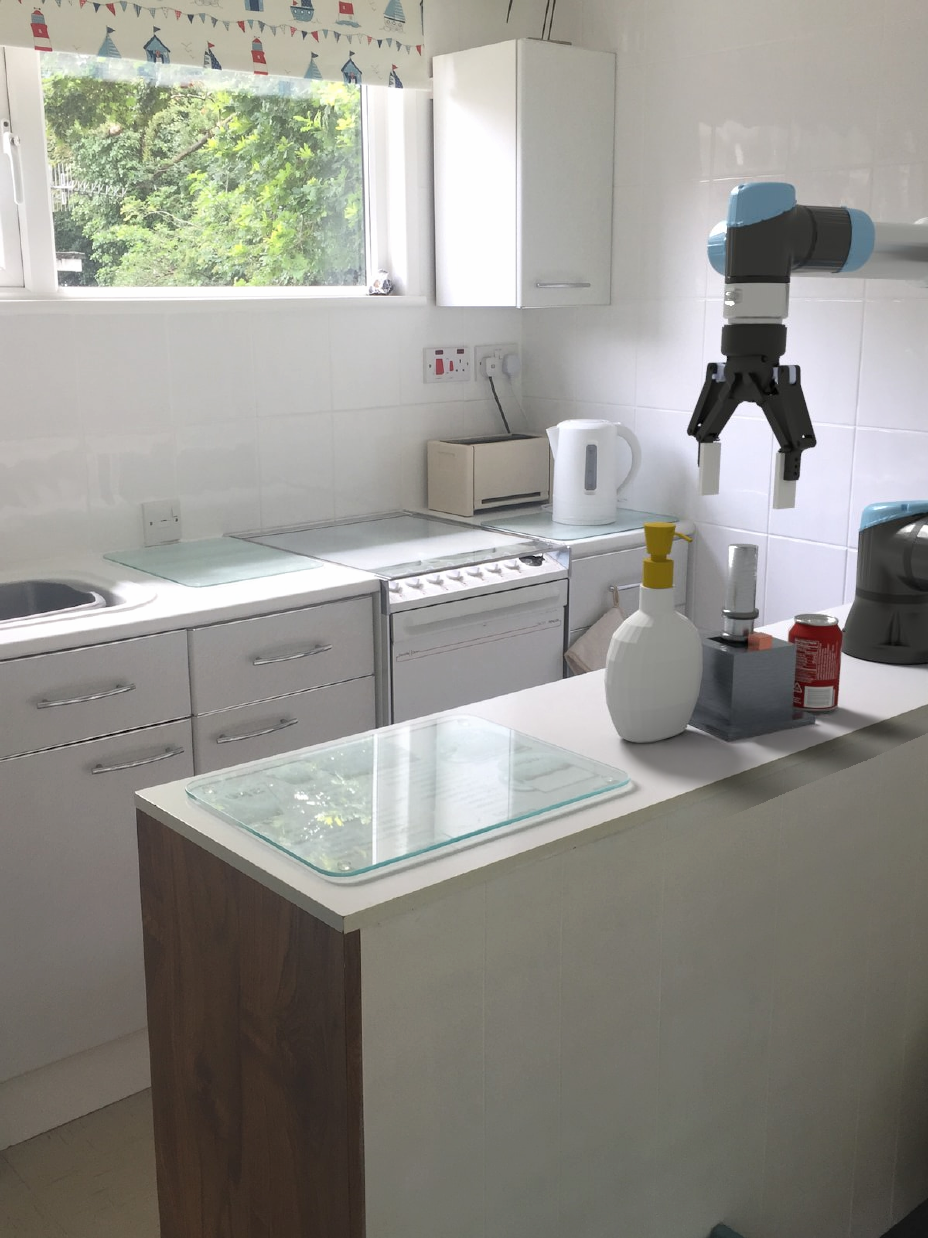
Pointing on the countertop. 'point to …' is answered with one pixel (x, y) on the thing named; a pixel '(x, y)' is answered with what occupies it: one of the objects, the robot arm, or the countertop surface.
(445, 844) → the countertop surface
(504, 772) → the countertop surface
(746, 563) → the column
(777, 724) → the sleeve
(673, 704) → the soap bottle
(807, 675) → the soda can
